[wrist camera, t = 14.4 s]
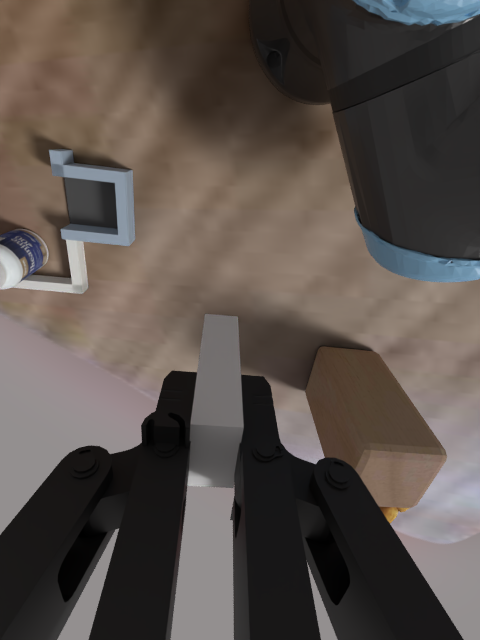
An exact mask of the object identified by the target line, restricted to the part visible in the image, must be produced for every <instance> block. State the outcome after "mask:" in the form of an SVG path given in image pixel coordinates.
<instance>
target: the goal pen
mask: <svg viewBox="0 0 480 640" xmlns="http://www.w3.org/2000/svg"><path fill="white" fill-rule="evenodd" d="M66 243H67V250H68V257H69V264H70V271H71V278H64V277H53V276H43V275H32V274H31V275H30V276H28V277H27V278H25V279H24V280H22V281H21V282H20V283H18V284H17V285H15V286H13V288H24V289H35V290H46V291H57V292H68V293H80V294H83V293H84V292H85V291H86V290H87V289H88V279H87V271H86V262H85V253H84V245H83V241H75V240H66Z"/></svg>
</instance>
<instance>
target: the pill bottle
mask: <svg viewBox="0 0 480 640" xmlns="http://www.w3.org/2000/svg"><path fill="white" fill-rule="evenodd" d="M48 255H49V254H48V249H47V246H46V244H45V242H44V241H43V240H42V239H41V238H40V237H39V236H38V235H37V234H36V233H34V232H32V231H30V230H26V229H15V230H12V231H9V232H7V233H4V234H2V235H0V289H8V288H11V287H13V286H15V285H17V284H18V283H20V282H21V281H22V280H24V279H25V278H27V277H28V276H30V275H31V274H33V273H34V272H35V271H37V270H38V269H40V268H41V267H42V266H44V265H45V264H46V262H47V260H48Z"/></svg>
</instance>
